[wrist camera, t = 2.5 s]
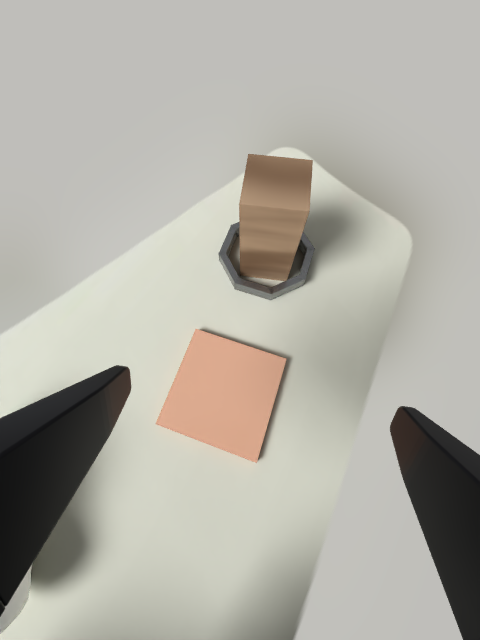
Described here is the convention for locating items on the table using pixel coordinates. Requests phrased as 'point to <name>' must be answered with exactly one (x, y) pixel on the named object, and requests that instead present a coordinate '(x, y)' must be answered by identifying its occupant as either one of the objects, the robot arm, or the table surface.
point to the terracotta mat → (223, 394)
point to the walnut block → (273, 214)
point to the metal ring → (258, 288)
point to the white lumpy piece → (16, 602)
